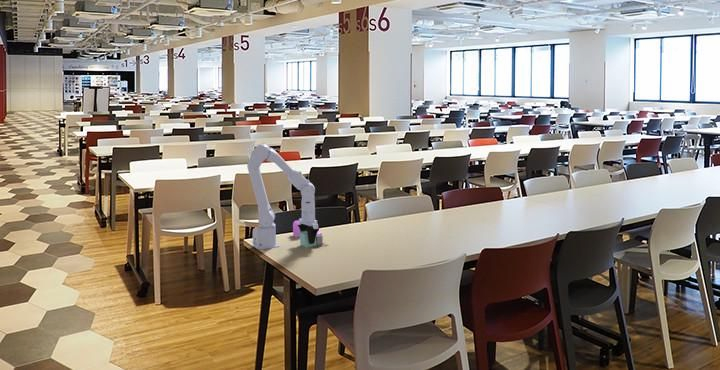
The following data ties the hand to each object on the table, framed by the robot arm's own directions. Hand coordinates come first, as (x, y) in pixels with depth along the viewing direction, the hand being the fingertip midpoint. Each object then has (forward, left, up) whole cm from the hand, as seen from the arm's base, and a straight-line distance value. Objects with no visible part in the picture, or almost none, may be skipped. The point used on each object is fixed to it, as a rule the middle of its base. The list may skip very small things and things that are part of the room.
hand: (308, 242), depth 272 cm
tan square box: (+4, -1, -2) cm, 5 cm away
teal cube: (0, 0, -1) cm, 1 cm away
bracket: (+8, +18, -2) cm, 20 cm away
